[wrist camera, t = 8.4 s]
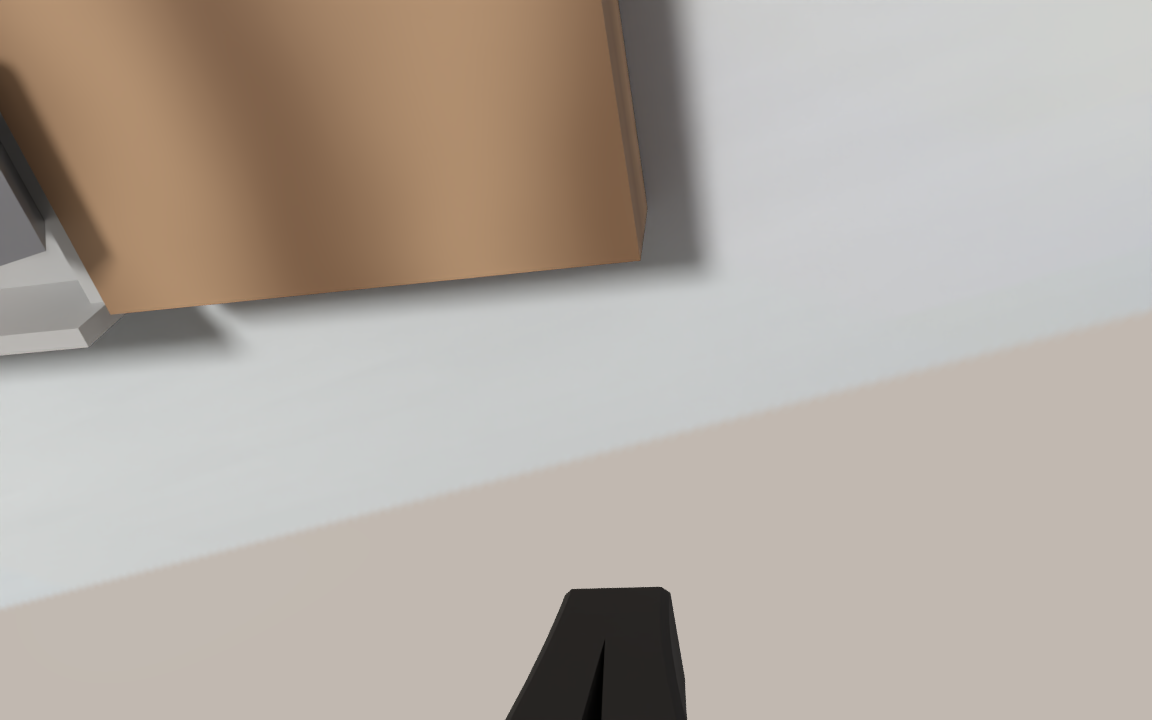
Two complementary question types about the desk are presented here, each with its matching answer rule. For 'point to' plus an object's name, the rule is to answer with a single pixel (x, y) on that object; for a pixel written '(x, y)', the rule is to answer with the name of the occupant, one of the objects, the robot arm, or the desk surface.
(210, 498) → the desk surface
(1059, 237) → the desk surface
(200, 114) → the walnut board
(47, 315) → the tray
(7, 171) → the tile charcoal
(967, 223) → the desk surface
